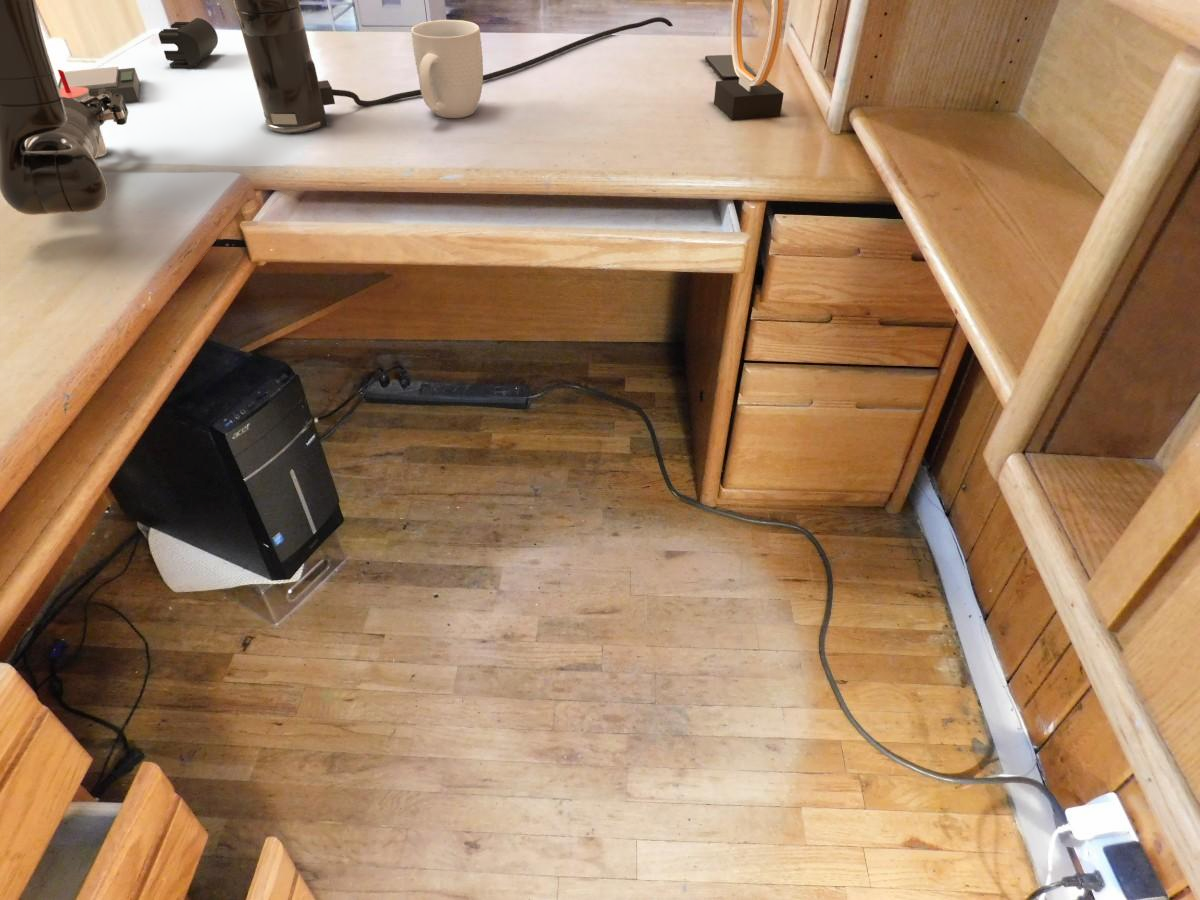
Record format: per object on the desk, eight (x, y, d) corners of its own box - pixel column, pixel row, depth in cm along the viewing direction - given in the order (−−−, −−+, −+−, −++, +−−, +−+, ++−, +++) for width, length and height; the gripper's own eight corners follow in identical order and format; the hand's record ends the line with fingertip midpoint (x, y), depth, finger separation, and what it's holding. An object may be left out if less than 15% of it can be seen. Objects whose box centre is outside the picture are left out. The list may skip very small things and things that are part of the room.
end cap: (205, 69, 150) (193, 30, 145) (168, 69, 150) (155, 30, 145) (223, 54, 157) (212, 17, 153) (188, 54, 157) (176, 17, 152)
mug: (460, 134, 124) (450, 46, 116) (399, 127, 127) (385, 39, 118) (497, 105, 135) (490, 22, 126) (440, 98, 137) (430, 17, 129)
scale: (139, 82, 143) (133, 63, 141) (138, 101, 135) (131, 82, 133) (67, 89, 140) (59, 70, 138) (61, 110, 132) (53, 90, 130)
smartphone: (737, 54, 157) (758, 75, 145) (736, 59, 157) (757, 80, 146) (704, 55, 156) (722, 76, 145) (703, 60, 156) (722, 81, 145)
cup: (112, 145, 120) (77, 62, 112) (116, 156, 116) (80, 71, 108) (73, 151, 118) (35, 67, 110) (76, 163, 114) (37, 77, 106)
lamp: (789, 124, 129) (828, -108, 108) (740, 128, 127) (770, -107, 106) (751, 93, 141) (779, -122, 120) (706, 96, 139) (726, -120, 118)
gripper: (112, 99, 102) (116, 66, 113) (-13, 113, 98) (4, 77, 109) (134, 156, 107) (136, 118, 118) (17, 171, 103) (30, 131, 114)
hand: (73, 98), depth 113 cm, fingers open, 8 cm apart
